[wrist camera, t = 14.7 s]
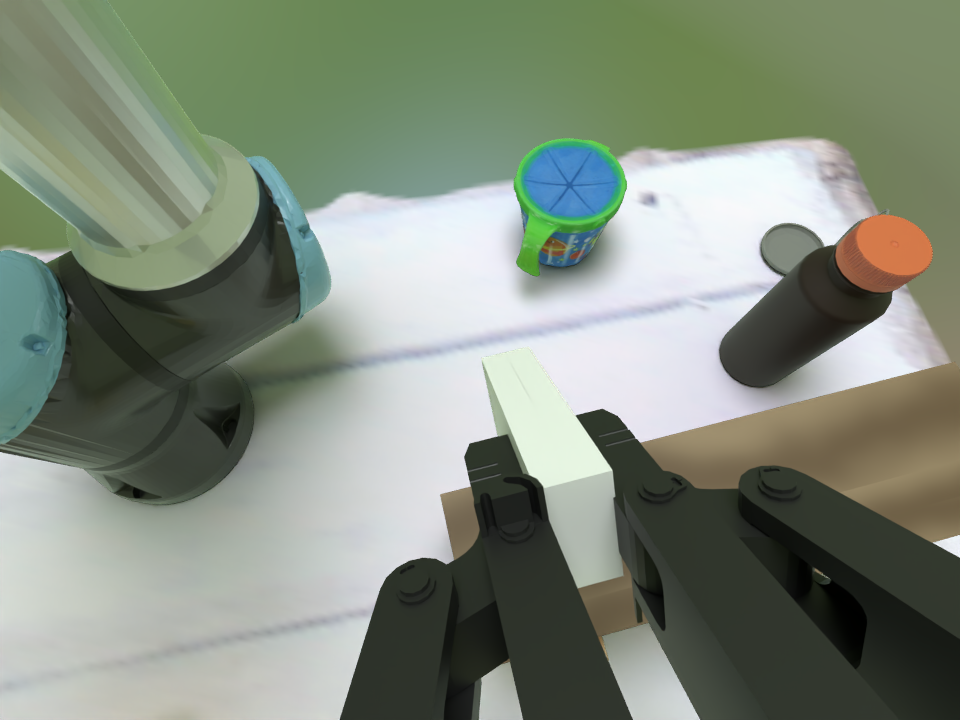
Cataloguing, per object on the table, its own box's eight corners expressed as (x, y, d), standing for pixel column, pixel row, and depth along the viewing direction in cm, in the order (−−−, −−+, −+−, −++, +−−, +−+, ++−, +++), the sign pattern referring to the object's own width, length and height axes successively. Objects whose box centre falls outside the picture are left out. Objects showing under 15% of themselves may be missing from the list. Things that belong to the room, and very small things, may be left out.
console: (870, 525, 46) (1049, 509, 31) (483, 633, 44) (477, 670, 29) (816, 421, 50) (954, 361, 35) (457, 515, 47) (440, 494, 32)
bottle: (704, 354, 52) (819, 241, 34) (745, 314, 54) (878, 185, 35) (758, 401, 50) (912, 309, 32) (799, 359, 52) (969, 246, 33)
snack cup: (560, 175, 61) (572, 105, 52) (635, 219, 59) (662, 154, 49) (479, 263, 57) (476, 204, 48) (556, 315, 55) (569, 263, 45)
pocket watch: (756, 225, 58) (806, 161, 49) (833, 232, 57) (899, 169, 48) (761, 288, 55) (816, 233, 46) (842, 296, 55) (914, 241, 45)
